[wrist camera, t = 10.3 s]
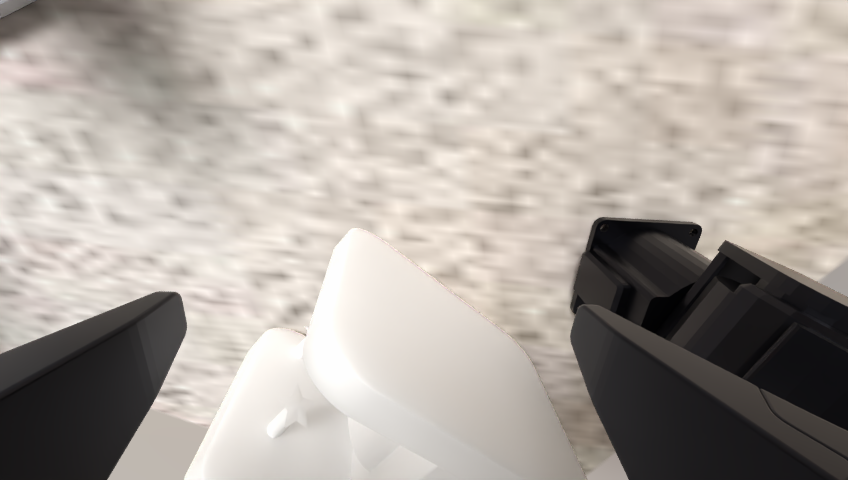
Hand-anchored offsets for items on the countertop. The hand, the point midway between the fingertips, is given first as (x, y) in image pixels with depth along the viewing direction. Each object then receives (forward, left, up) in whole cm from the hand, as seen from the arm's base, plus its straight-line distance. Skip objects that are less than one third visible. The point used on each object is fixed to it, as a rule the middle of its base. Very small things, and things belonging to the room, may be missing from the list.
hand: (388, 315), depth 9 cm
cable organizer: (-1, +11, -13) cm, 17 cm away
